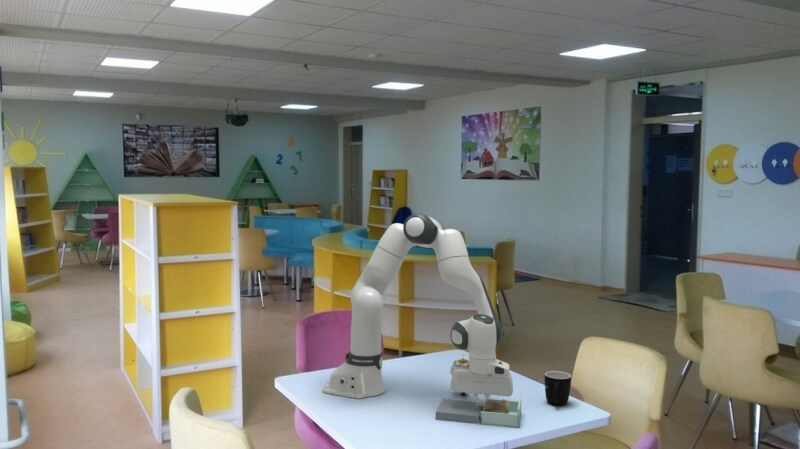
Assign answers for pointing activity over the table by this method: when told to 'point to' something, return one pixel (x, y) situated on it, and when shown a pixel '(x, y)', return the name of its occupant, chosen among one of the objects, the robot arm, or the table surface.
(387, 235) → the robot arm
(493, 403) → the tile
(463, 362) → the toy
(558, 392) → the mug
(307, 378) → the table surface
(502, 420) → the bin
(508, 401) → the tile
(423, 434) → the table surface
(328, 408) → the table surface
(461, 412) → the board
